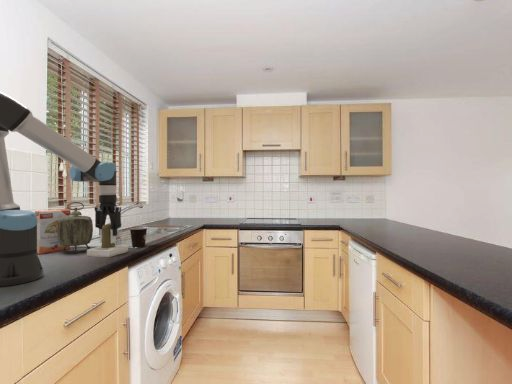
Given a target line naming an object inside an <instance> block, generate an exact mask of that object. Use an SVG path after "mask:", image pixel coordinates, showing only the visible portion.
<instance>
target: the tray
mask: <svg viewBox="0 0 512 384" xmlns="http://www.w3.org/2000/svg"><path fill="white" fill-rule="evenodd" d="M128 252H129V245H128V244H127V245H123V244H115V247H113V248H101V245H100V246H98V247H96V246H95V247H92V248H90V249H86V257H92V258H93V257H97V258H111V257H114V256H118V255H121V254H125V253H128Z"/></svg>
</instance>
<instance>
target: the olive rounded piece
mask: <svg viewBox="0 0 512 384" xmlns="http://www.w3.org/2000/svg"><path fill="white" fill-rule="evenodd" d="M111 229H112V226H111V223H107V224H106V223H105V225H103V226H102V230H103V238H102V243H101V245H100V246H101V248H113V247H115V245H116V242H115V243H111Z"/></svg>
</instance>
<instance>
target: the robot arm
mask: <svg viewBox="0 0 512 384" xmlns="http://www.w3.org/2000/svg"><path fill="white" fill-rule="evenodd" d="M10 132H11V133H15V132H17V133H19V134H20V135H22V136H24V137H25V138H27V139H28V140H30V141H32V142H33V143H35V144H36V145H38V146H39V147H42V148H43V149H44V150H46V151H48V152H49V153H51V154H53V155H54V156H56V157H58V158H59V159H60V160H62V161H64V162H66V163H68V164H70V165H71V166H70V168H69V178H70V180H71V181H73V182H82V183H83V182H84V183H85V182H86V183H87V182H88V183H91V182H92V183H94V182H95V183H98V194H99V196H98V202H99V206H95V207H94V214H95V219H94V220H95V224H94V226H95V228H97V229H98V230H99V231H98V235H99V242H100V244H102V238H103V230H102V226H103V225H106V222H107V221H106V220H107V217H109V222H110V224H111V226H112V229H111V243H115V244H116V243H117V236H118V229H119V228H122V218H121V217H122V214H121V211H122V210H123V209H122V207H121V206H117V201H118V200H117V199H118V198H117V195H116V194H117V171H118V170H117V164H116V163H115V162H110V161H100V160H99V159H97V158H96V157H94V156H93V155H92V154H90V153H88V152H87V151H85V150H84V149H83V148H81V147H79V146H78V145H77V144H76V143H74V142H72V141H71V140H69V139H68V138H67V137H65V136H63V135H62V134H61V133H59V132H57V131H56V130H55V129H53V128H52V127H50V125H47V124H46V123H44V122H43V121H41V120H40V119H39V118H37V117H35V115H33V111H32V110H30V109H29V108H27V106H25V105H23V103H20V102H19V101H17V100H16V99H15V98H13V97H12V96H9V95H8V94H6V93H4V92H2V91H0V287H7V286H14V285H21V284H26V283H29V282H33V281H36V280H38V279H41V278H43V276H44V267H43V266H42V263H41V261H40V258H39V256H38V254H37V223H38V221H37V216H36V214H35V211H32V210H23V209H21V208H20V207H21V206H20V205H19V204H17V203H16V202H14V200H15V199H14V196H13V195H14V194H13V187H12V180H11V175H10V168H9V162H8V155H7V147H6V142H5V138H6V137H7V136H8V135H9V133H10Z"/></svg>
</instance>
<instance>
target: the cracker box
mask: <svg viewBox="0 0 512 384" xmlns="http://www.w3.org/2000/svg"><path fill="white" fill-rule="evenodd" d="M71 212H72V210H70V209H47V210H34V213H35V214H36V216H37V221H38V223H37V255H42V254H47V253H48V254H49V253H55V252H62V249H64V247H65V246H62V245H60V244H59V241H58V235H57V230H58V223H59V221H60V219H62V218H64V217H68V216H70V214H71ZM68 250H71V246H67V247H66V251H68Z"/></svg>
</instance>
